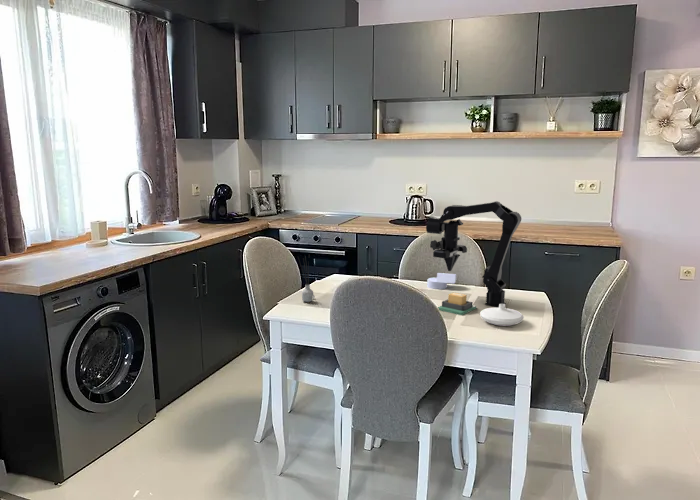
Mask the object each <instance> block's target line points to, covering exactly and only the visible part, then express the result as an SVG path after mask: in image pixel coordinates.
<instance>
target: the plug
mask: <svg viewBox="0 0 700 500" xmlns="http://www.w3.org/2000/svg"><path fill="white" fill-rule="evenodd" d="M447 299H448V302H449V303H453V304H458V305H465V304H466V301H467V294H463V293H459V292H458V293H457V292H451V293H449V294H448V297H447Z"/></svg>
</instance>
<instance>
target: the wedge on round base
mask: <svg viewBox="0 0 700 500" xmlns="http://www.w3.org/2000/svg"><path fill="white" fill-rule="evenodd" d="M456 281H457V274H456V273H447V272H446V273H443V272H437V273H436V277H429V278H427V284H426V285H427V286H426V287H427V288H428V289H432V290H445V289H447V286H448V284H456V283H457V282H456Z"/></svg>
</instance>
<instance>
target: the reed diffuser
mask: <svg viewBox="0 0 700 500" xmlns="http://www.w3.org/2000/svg"><path fill="white" fill-rule="evenodd" d="M308 257H310V254H308ZM297 259H298V261H299V262H298V263H299V265H300V268H301V271H302V275H303V277H304V280H305V286H304V289H303V290H302V291H301V299H302V301H303V302H307V303H309V302H312V301H314V300H315V299H314V298H315V294H314V290H312V289H311V285H310V272H309V271H307V270H308V264H307V262H305V261H307V257H306V255H304V258H302V260H303V262H305V263H303V266H304V270H303V267H302V263H301V261H300V257H299V256H297Z"/></svg>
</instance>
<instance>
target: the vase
mask: <svg viewBox="0 0 700 500" xmlns="http://www.w3.org/2000/svg"><path fill="white" fill-rule="evenodd" d="M479 315H480V318H481V319H482V320H483V321H485V322H487V323H489V324H491V325H495V326H501V327H502V326H503V327H506V326H507V327H509V326H514V325H517V324H520V323H522V321H523V320H524V318H525V317H524V315H523V314H522V313H521V312H520V311H518V310H516V309H512V308H508V307H507V308H506V304H499V307H488V308H484V309H482V310H481V311H480V312H479Z"/></svg>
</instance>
